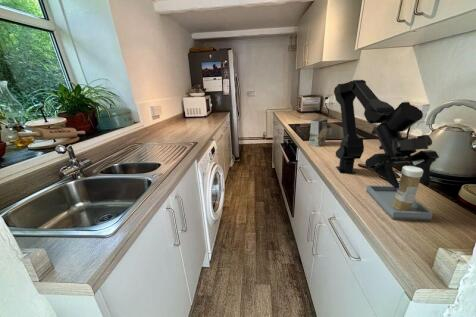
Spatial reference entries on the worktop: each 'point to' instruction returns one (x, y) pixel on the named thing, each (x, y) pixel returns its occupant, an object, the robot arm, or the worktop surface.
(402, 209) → the sprinkles bottle
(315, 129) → the coffee box
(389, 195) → the tray
